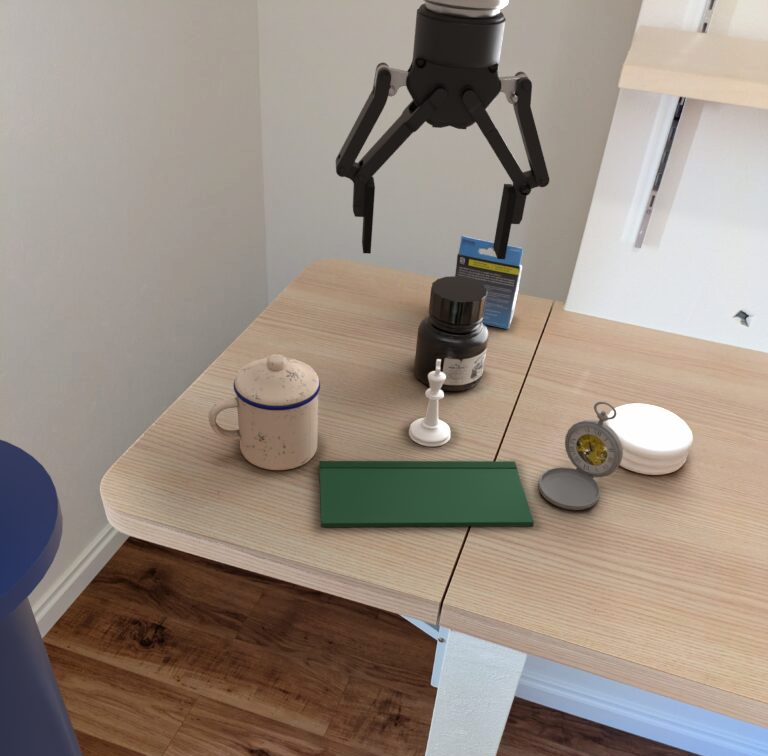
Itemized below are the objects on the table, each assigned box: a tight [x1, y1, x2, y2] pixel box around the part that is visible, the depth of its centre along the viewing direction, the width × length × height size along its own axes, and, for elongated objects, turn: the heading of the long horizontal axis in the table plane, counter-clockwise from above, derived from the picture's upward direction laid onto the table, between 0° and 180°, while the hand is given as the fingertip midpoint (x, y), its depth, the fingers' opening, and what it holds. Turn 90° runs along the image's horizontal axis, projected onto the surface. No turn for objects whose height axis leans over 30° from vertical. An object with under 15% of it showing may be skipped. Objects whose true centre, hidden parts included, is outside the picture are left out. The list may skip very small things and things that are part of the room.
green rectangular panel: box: [318, 460, 535, 528], centre depth 85 cm, size 22×10×1 cm, turn 94°
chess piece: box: [408, 359, 451, 448], centre depth 90 cm, size 5×5×10 cm
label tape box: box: [454, 234, 524, 330], centre depth 111 cm, size 9×4×12 cm, turn 72°
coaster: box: [603, 403, 694, 476], centre depth 93 cm, size 10×10×4 cm
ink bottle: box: [413, 275, 490, 392], centre depth 100 cm, size 10×9×12 cm
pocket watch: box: [538, 401, 623, 511], centre depth 85 cm, size 8×8×10 cm
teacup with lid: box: [208, 353, 321, 471], centre depth 86 cm, size 12×9×12 cm
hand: (433, 251), depth 81 cm, fingers open, 13 cm apart
